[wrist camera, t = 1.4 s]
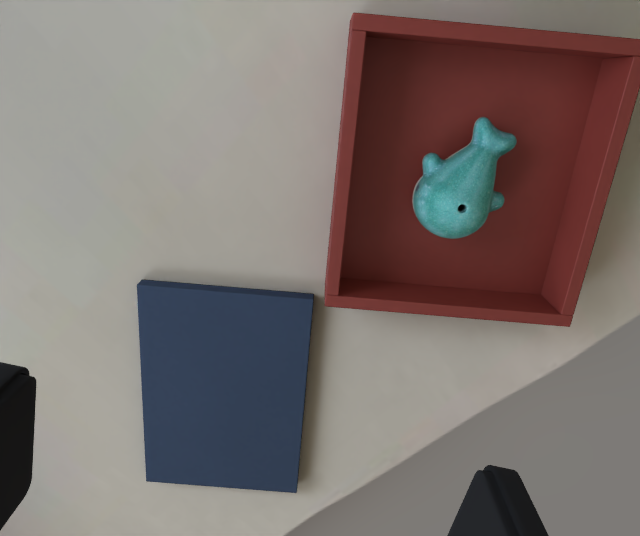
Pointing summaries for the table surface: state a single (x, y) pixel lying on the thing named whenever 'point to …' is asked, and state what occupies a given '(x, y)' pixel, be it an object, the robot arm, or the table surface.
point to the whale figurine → (462, 184)
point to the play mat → (223, 384)
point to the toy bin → (511, 172)
